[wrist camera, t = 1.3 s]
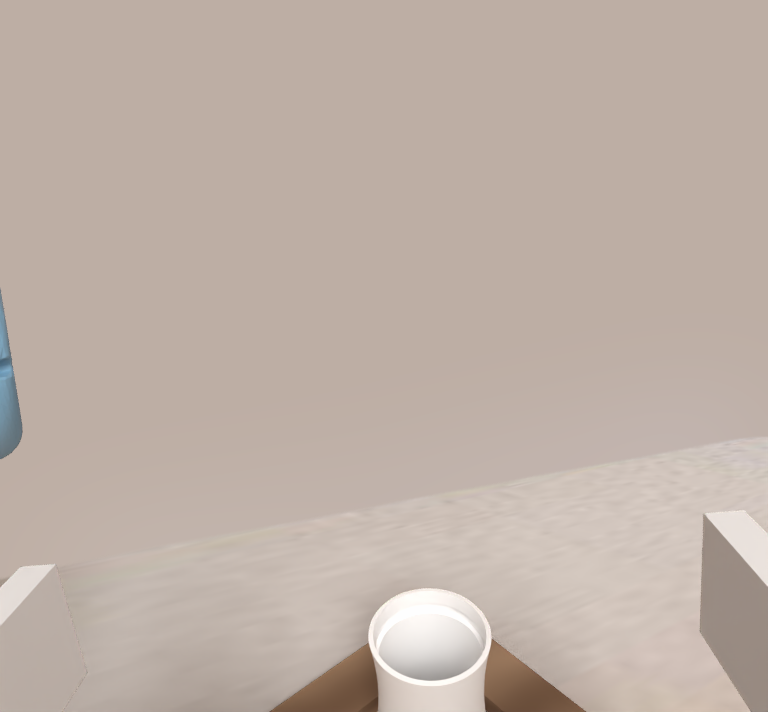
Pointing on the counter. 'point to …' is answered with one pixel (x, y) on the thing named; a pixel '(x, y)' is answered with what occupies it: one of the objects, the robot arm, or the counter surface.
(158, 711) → the counter surface
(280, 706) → the holder frame
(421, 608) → the vase
